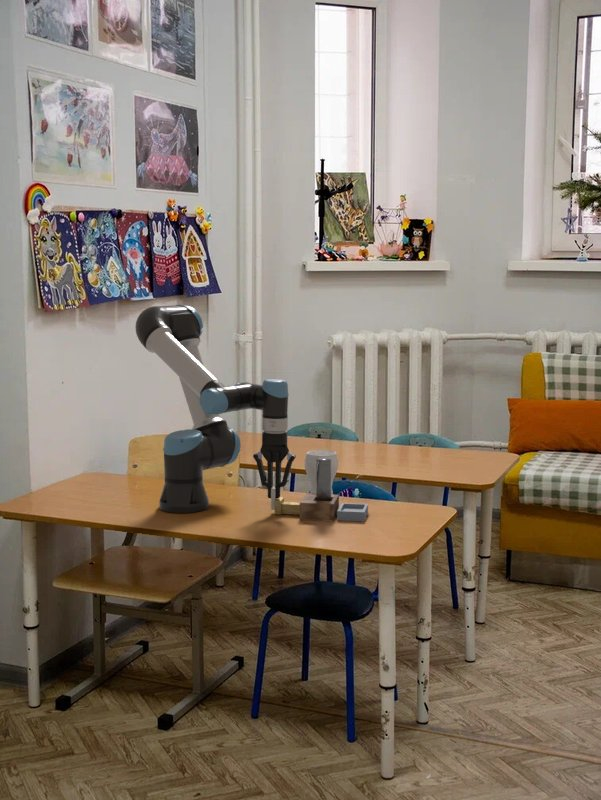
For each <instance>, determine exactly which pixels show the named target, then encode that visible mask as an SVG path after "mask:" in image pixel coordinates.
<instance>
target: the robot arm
mask: <svg viewBox="0 0 601 800" xmlns="http://www.w3.org/2000/svg"><path fill="white" fill-rule="evenodd" d="M201 316H202V315H201V314H200V313H199V312H198V310H196V308H194V307H192V306H190V305H183V304H175V305H161V306H159V305H156V306H155V305H154V306H150V307H147V308H145V309H144V310H142V311H141V312H140V313H139V315H138V317H137V319H136V322H135V334H136V337H137V339H138V340H139V342H140V344H142V346H143V347H144V348H145V349H146V350H147V351H148V352H149V353H151V354H153V353H155V354H156V355H157V356H158V358H159V359H161V360H162V361H163V362H164V363H165V364H166V365H167V366H168V367H169V368H170V369H171V371H173V372H174V373H175V374H176V375H177V376H178V377H179V381H180V386H181V388H182V391H183V394H184V398H185V400H186V405H187V407H188V410H189V413H190V416H191V419H192V423H193V425H192V428H191V429H190V428H189V429H180V430H175V431H173V432H170V433H168V434H167V435H166V436H165V438H164V440H163V450H162V451H163V465H164V469H163V471H164V473H163V474H164V485H163V488H162V491H161V494H160V497H159V502H158V503H159V504H158V506H159V509H160V510H161V511H163V512H167V513H173V514H189V513H197V512H202V511H205V510H208V509H209V506H210V505H209V504H210V503H209V501H210V500H209V497H208V494H207V491H206V488H205V485H204V482H203V481H204V479H203V476H204V475H203V473H204V472H203V471H205V470H211V469H214V468H219V467H220V468H222V467H226V466H228V465H230V464H232V463H234V462H235V461H236V460H237V459H238V457H239V454H240V452H241V449H242V448H241V445H242V444H241V443H242V442H241V439H240V436H239V433H238V432H237V430H235V429H234V428H231V427H229V426H228V421H227V420H226V419H224V418H222V417H221V416H220V415H221V414H226V413H231V412H238V411H243V410H253V409H254V410H259V411H262V415H261V416H262V419H261V420H262V423H261V425H262V426H261V428H262V431H263V432H262V433H261V447H260V451H258V452H255V453H254V454H253V456H252V457H253V459H254V460H255V462H256V466H257V470H258V473H259V474H258V475H259V479H260V483H261V485H262V486H264V487H265V488H267V498H268V499H270V510H271V511H274V501H275V499H279V498H280V497H281V488H282V487H283V488H284V487H285V486H286V485H287V483H288V479H289V476H290V472H291V469H292V465H293V463H294V461H295V459H296V458H297V456H296V454H293V453H291V452H290V450H289V448H288V432H287V431H288V429H289V427H288V424H289V422H288V419H289V418H288V417H289V416H288V408H289V405H288V404H289V385H288V381H286V380H285V379H282V378H281V379H280V378H279V379H277V378H268V379H264V380H263V381H262V384H259V383H250V382H247V381H246V382H237V383H235V384H234V385H228V386H225V384H223V383H222V382H221V381H220V380H219V379H217V377H216V376H215V375H214V374H213V373H212V372H211V371H210V370H208V368H207V367H206V366H204V363H203V359H202V357H201V354H200V350H199V345H200V343H201V335H202V333H203V328H204V323H203V319H202V317H201ZM262 458H264V459H265V461H267V462H266V465H267V475H266V471H265V467H264V462H263V459H262ZM285 458H286V460H287V463H286V466H285V469H284V473H283V476H282V462H283V460H285ZM274 463H275V476H274ZM274 477H275V478H274ZM274 479H275V480H274ZM274 481H275V483H274ZM274 484H275V485H274Z"/></svg>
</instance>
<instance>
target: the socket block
mask: <svg viewBox="0 0 601 800" xmlns="http://www.w3.org/2000/svg"><path fill="white" fill-rule="evenodd" d="M299 503H300V515H299V520H304V521H305V520H307V521H309V520H310V521H328V522H329V521H330V522H331V521H332V522H334V521H335V519H336V516H337V511H338V509H339V507H340V494H334V493H333V494H331V501H316V494H310V492H308V493H305V495H304V496H303V497H302V499H301V500H300V501H299Z"/></svg>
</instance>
